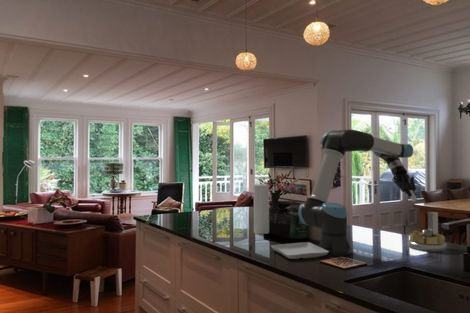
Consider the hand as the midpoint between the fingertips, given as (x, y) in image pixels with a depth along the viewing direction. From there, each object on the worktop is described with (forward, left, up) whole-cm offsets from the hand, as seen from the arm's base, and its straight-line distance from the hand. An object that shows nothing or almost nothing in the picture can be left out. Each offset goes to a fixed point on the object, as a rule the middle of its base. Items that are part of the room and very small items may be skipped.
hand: (415, 200), depth 210 cm
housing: (-4, -16, -22) cm, 27 cm away
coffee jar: (-61, +18, -23) cm, 67 cm away
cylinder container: (-79, +37, -23) cm, 90 cm away
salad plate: (-72, -19, -23) cm, 78 cm away
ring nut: (-3, -15, -19) cm, 25 cm away
